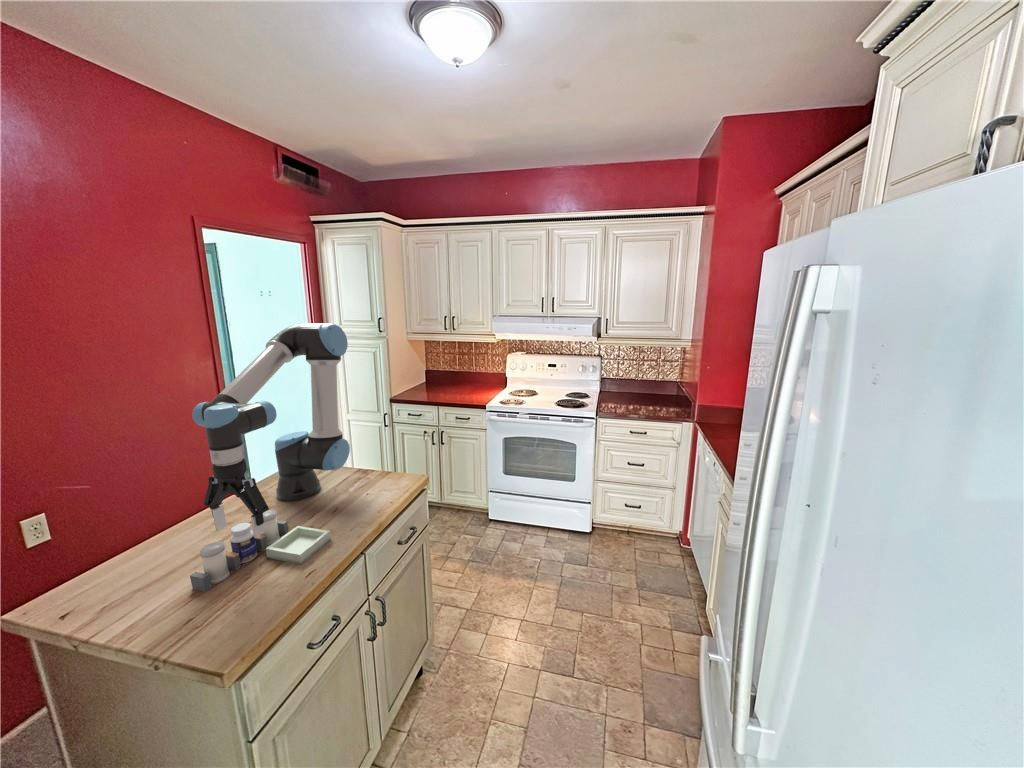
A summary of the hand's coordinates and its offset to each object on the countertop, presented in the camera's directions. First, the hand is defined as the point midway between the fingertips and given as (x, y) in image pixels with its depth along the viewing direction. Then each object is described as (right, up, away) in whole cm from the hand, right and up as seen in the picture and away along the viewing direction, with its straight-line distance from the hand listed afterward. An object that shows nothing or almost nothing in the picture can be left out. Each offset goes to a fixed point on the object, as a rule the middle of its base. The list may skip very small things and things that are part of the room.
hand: (240, 531), depth 113 cm
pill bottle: (0, -9, +2) cm, 9 cm away
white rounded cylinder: (-2, -10, -6) cm, 12 cm away
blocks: (0, -8, +2) cm, 9 cm away
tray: (+14, -7, +6) cm, 17 cm away
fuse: (+2, -7, +10) cm, 12 cm away
